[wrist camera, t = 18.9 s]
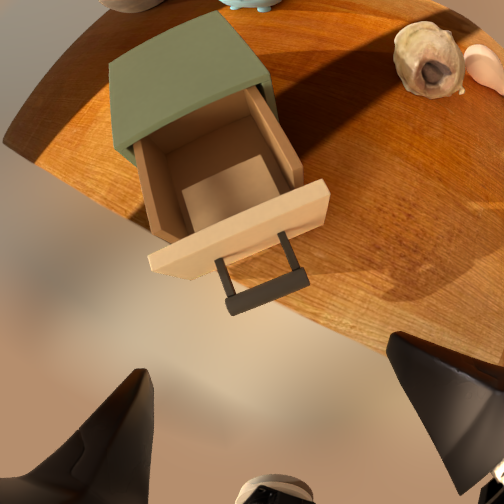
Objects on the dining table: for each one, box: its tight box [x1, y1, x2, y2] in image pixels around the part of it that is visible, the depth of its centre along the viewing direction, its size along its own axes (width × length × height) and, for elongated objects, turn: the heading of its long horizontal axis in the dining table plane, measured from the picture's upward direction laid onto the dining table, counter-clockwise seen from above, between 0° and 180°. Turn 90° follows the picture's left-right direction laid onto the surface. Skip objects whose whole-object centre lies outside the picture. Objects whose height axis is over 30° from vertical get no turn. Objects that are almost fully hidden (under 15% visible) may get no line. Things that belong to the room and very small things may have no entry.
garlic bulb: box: [393, 21, 465, 99], centre depth 20 cm, size 9×8×10 cm
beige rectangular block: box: [182, 155, 280, 233], centre depth 22 cm, size 7×4×2 cm, turn 111°
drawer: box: [133, 85, 331, 316], centre depth 21 cm, size 18×12×7 cm
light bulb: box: [464, 44, 504, 96], centre depth 20 cm, size 7×7×11 cm
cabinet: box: [109, 10, 279, 167], centre depth 24 cm, size 15×14×9 cm
